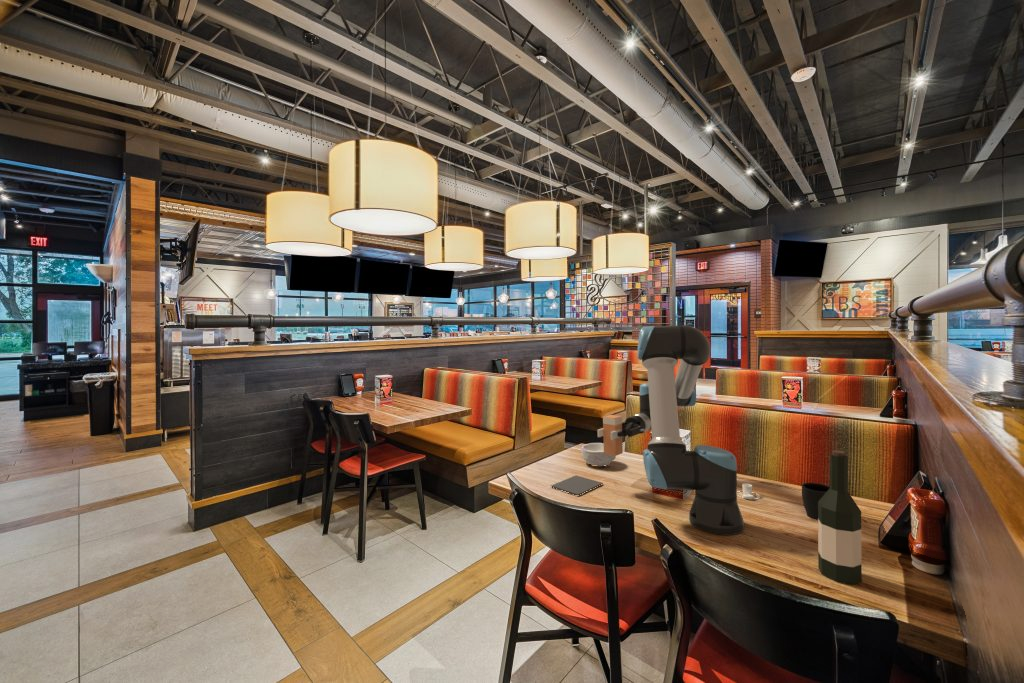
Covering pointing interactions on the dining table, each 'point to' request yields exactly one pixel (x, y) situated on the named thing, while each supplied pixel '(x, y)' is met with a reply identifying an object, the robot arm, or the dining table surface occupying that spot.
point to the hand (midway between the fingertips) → (604, 434)
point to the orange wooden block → (609, 426)
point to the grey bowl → (596, 454)
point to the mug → (813, 497)
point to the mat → (576, 485)
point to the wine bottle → (839, 527)
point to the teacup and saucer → (748, 492)
